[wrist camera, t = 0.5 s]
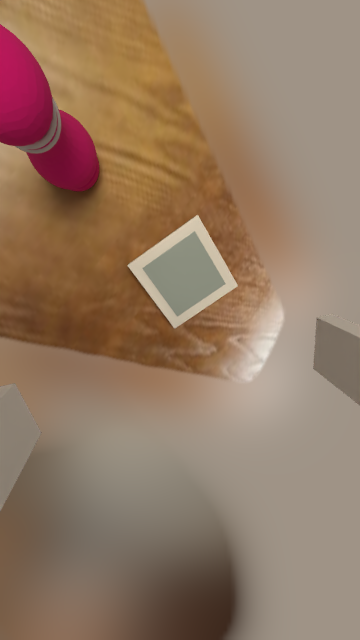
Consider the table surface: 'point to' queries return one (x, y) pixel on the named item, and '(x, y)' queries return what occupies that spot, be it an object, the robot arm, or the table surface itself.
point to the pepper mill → (41, 121)
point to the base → (183, 272)
